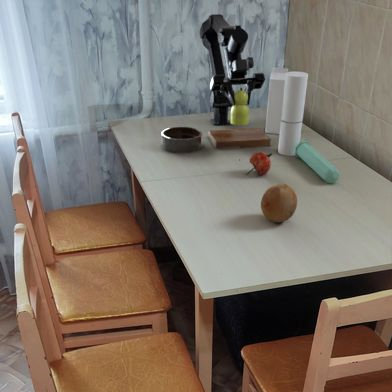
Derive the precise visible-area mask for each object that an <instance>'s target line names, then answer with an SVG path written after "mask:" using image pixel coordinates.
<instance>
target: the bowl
mask: <svg viewBox="0 0 392 392" xmlns="http://www.w3.org/2000/svg"><path fill="white" fill-rule="evenodd" d="M160 135H161V137H160V138H161V148H162V149H163V150H165V151H167V152H170V153H174V154H175V153H177V154H186V153H187V154H189V153H194V152H197V151H199V150H201V149H202V147H203V132H202V130H200V129H199V128H195V127H190V126H174V127H173V126H172V127H168V128H165V129H164V130H162V131H161V133H160Z"/></svg>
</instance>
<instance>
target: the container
mask: <svg viewBox="0 0 392 392" xmlns="http://www.w3.org/2000/svg"><path fill="white" fill-rule="evenodd" d="M294 153H295V154H296V155H295V156H296V157H297V158H298V159H301V160H302V161H303V162H304V163H305V164H306V165H307V166H308V167H309V168H311V169H312V170H313V172H315V173H316V174H317V175H318V176H319V177H320V178H321V179H322V180H323V181H324V182H325V183H326V184H335V183H336V182H337V181H338V180H339V179H340V178H339V177H340V171H339V170H338V169H337V168H336V167H335V166H334V165H333V164H332V163H331V162H329V161H328V160H327V159H326V158H325V157H324V156H323V155H322V154H320V153H319V152H318V151H317V150H316V149H314V147H312V145H311V144H310V143H309V142H308V140H300V142H299V143H298V144H297V145H296V146H295V152H294Z"/></svg>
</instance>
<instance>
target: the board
mask: <svg viewBox="0 0 392 392" xmlns="http://www.w3.org/2000/svg"><path fill="white" fill-rule="evenodd" d="M207 135H208V138H209V140H210V141H211V143H212V144H213V146H214V148H215V149H223V148H225V149H226V148H241V149H245V148H260V147H263V148H264V147H271V141H272V140H271V138H270V137H269V135H268V134H267V133H265V131H264V130H263V129H262V128H261V127H253V128H251V127H249V128H234V129H215V130H208V133H207Z"/></svg>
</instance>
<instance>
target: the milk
mask: <svg viewBox="0 0 392 392" xmlns="http://www.w3.org/2000/svg"><path fill="white" fill-rule="evenodd" d="M287 72H289V68H288V67H287V68H285V67H272V68H271V73H270V76H269V81H268V82H269V83H268V84H269V85H268V93H267V94H268V96H267V106H266V119H265V131H264V132H265V133H266V134H275V135H280V127H281V117H282V107H283V97H284V87H285V78H286V73H287Z"/></svg>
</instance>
